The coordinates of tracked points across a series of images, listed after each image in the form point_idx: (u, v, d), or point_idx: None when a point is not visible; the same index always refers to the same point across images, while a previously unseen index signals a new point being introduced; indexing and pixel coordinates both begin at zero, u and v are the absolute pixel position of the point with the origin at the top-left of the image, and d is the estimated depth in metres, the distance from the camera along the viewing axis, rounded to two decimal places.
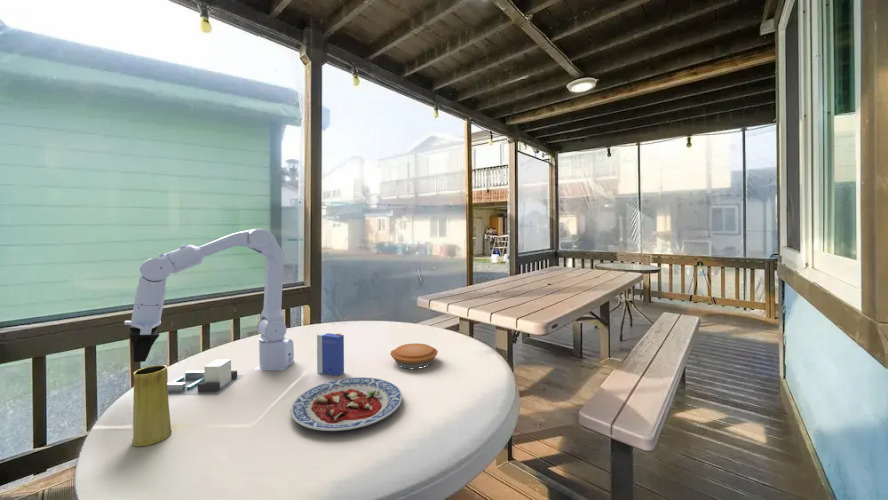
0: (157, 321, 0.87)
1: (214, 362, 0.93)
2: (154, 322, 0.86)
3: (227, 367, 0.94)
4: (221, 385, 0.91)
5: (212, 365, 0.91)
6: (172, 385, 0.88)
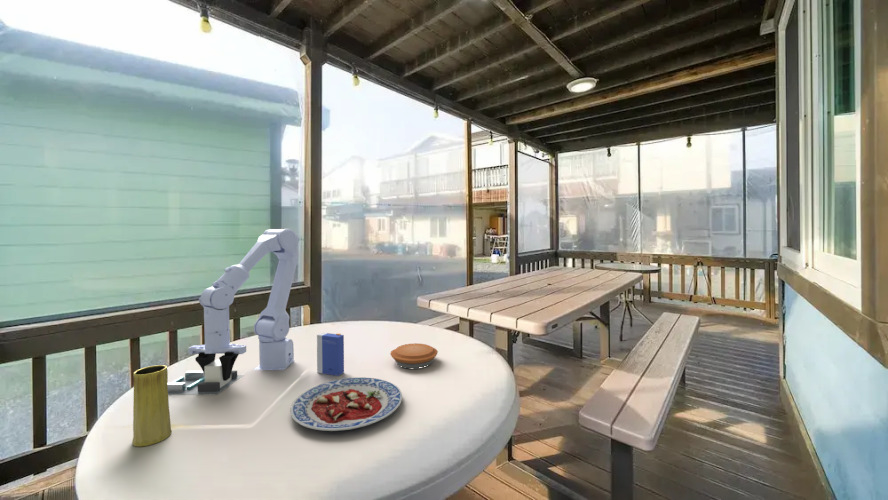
0: None
1: (214, 362, 0.93)
2: (230, 344, 0.94)
3: None
4: (221, 385, 0.91)
5: (212, 365, 0.91)
6: (172, 385, 0.88)
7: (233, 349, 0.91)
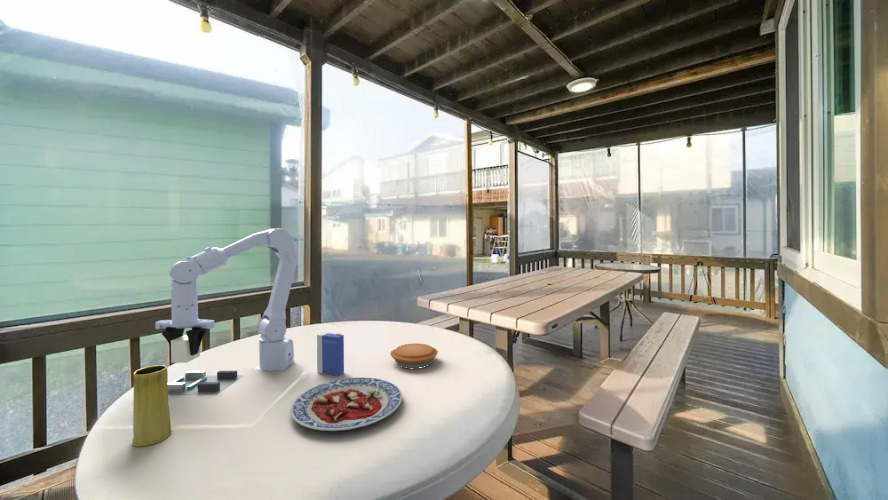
0: (197, 318, 0.94)
1: (182, 337, 0.92)
2: (198, 319, 0.94)
3: None
4: (188, 360, 0.91)
5: (179, 340, 0.90)
6: (172, 385, 0.88)
7: (200, 323, 0.91)
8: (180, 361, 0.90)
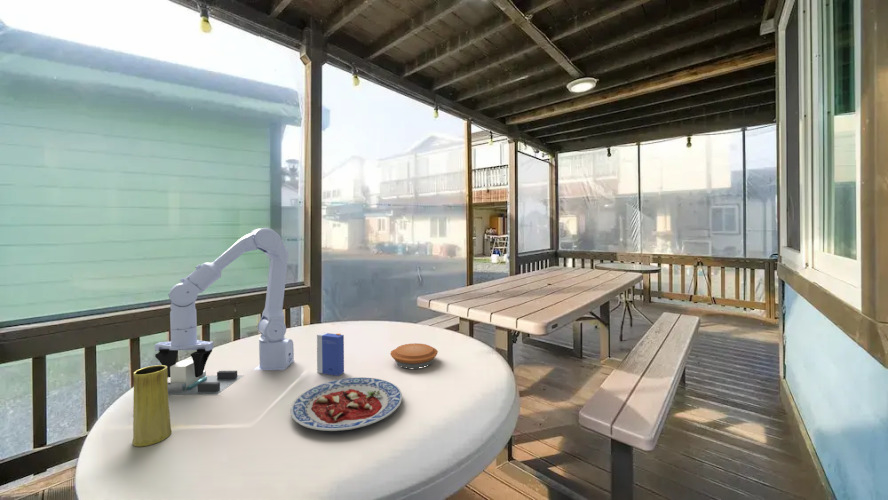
0: (196, 339, 0.95)
1: (181, 362, 0.93)
2: (197, 340, 0.94)
3: None
4: (187, 385, 0.91)
5: (178, 366, 0.90)
6: (172, 385, 0.88)
7: (199, 346, 0.91)
8: None
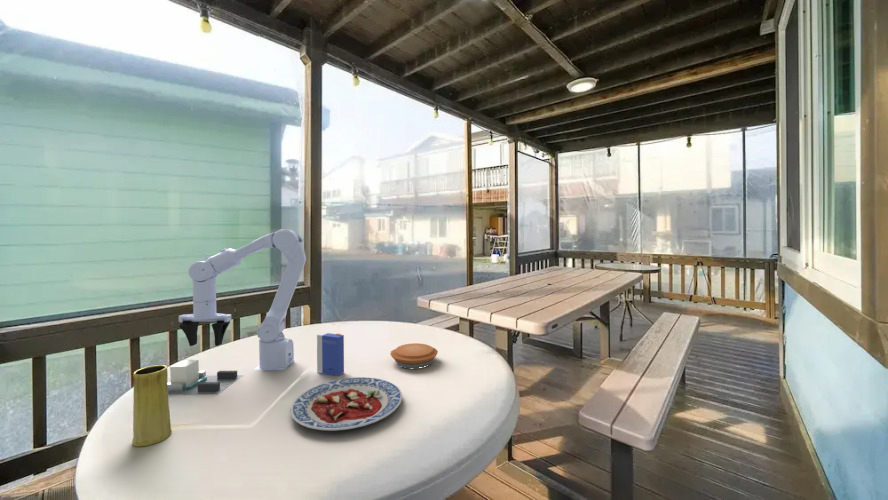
0: None
1: (181, 362, 0.93)
2: (216, 313, 1.04)
3: (194, 367, 0.94)
4: (187, 385, 0.91)
5: (178, 366, 0.90)
6: (172, 385, 0.88)
7: (219, 317, 1.01)
8: None
